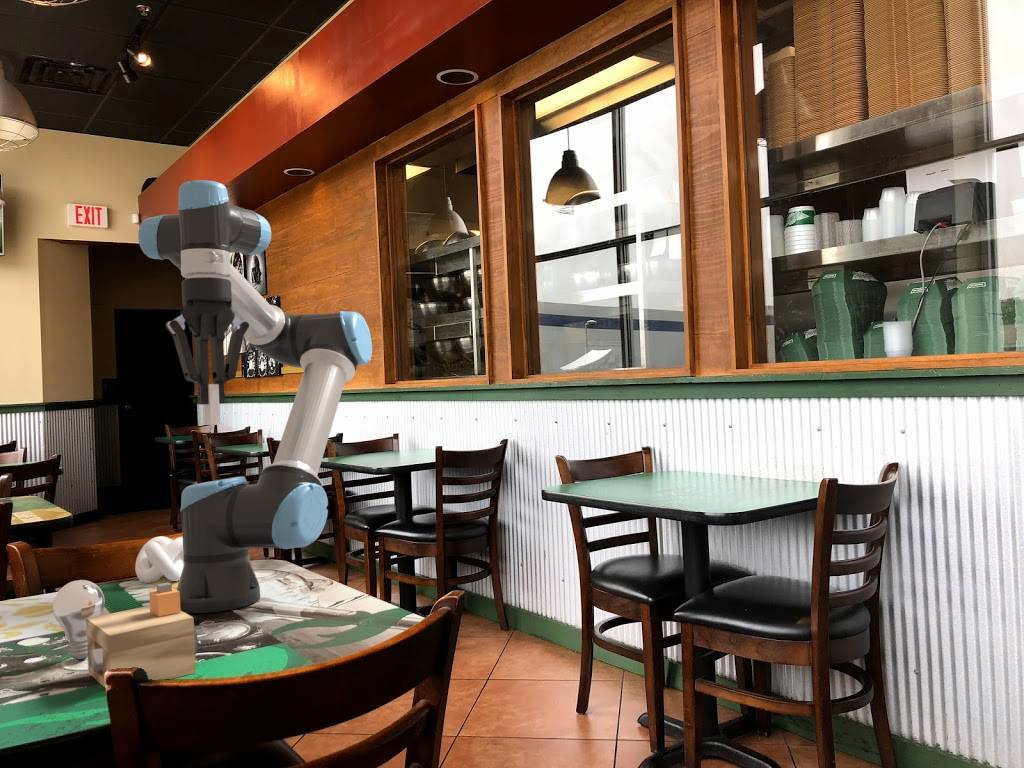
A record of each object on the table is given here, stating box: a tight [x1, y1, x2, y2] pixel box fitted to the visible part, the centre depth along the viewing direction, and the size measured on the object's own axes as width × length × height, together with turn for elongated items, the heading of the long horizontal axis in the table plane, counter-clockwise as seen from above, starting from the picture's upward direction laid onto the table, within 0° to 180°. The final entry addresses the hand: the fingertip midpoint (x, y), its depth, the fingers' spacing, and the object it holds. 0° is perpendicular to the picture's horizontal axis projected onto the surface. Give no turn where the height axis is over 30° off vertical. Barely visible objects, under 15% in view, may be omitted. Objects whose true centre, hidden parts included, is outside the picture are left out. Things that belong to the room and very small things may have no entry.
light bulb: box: [52, 579, 106, 662], centre depth 122 cm, size 7×7×12 cm
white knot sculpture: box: [134, 535, 184, 584], centre depth 174 cm, size 11×12×9 cm
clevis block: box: [86, 605, 197, 688], centre depth 115 cm, size 12×11×8 cm
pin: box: [91, 625, 199, 672], centre depth 116 cm, size 5×13×5 cm, turn 131°
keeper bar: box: [148, 582, 180, 617], centre depth 118 cm, size 4×3×4 cm
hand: (212, 424), depth 131 cm, fingers closed
